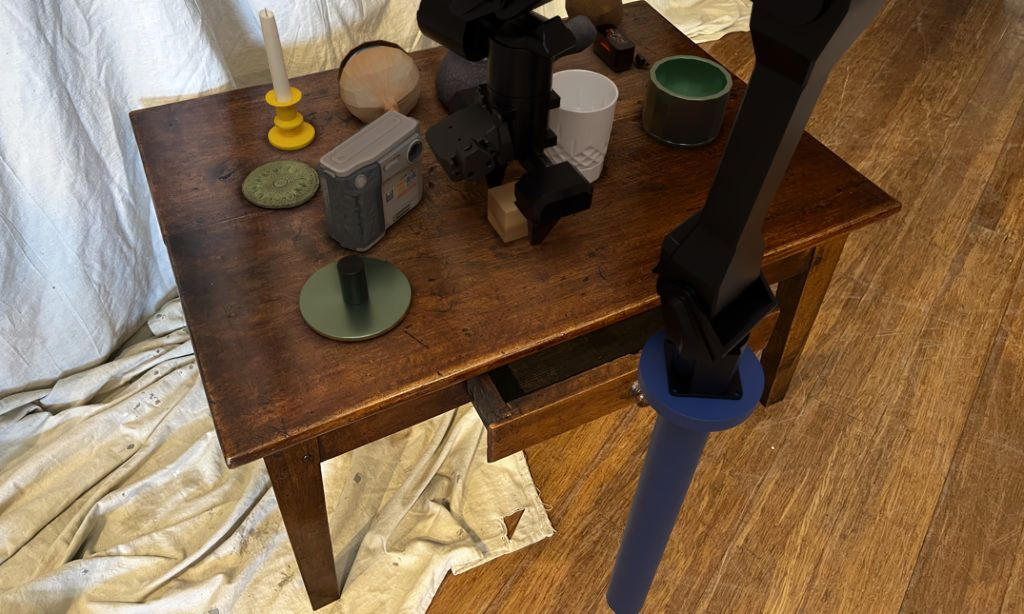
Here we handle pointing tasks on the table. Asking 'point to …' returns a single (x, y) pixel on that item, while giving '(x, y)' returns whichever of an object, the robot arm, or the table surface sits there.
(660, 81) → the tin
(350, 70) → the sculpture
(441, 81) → the teapot
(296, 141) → the candle
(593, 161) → the white cup
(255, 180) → the medallion
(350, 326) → the lid
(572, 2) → the potato
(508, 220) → the block
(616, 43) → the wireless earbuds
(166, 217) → the table surface
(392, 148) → the camera
